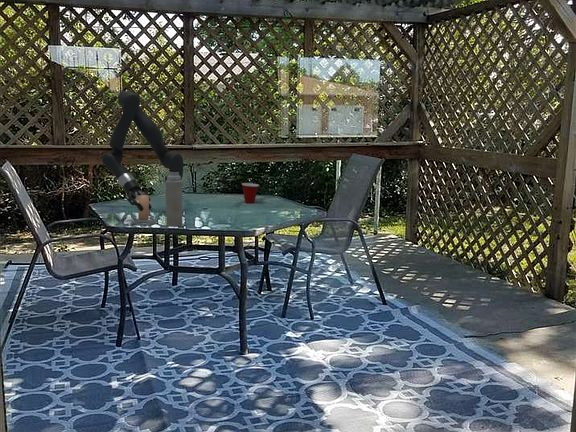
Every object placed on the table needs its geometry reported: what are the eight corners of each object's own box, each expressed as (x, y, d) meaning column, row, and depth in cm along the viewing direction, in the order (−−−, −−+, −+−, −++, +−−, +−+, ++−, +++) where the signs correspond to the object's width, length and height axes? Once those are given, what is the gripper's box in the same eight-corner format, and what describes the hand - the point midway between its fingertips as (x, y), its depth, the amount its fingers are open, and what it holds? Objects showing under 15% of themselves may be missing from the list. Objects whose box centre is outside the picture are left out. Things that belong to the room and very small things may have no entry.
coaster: (154, 220, 321) (154, 219, 321) (157, 224, 310) (157, 223, 310) (130, 221, 317) (130, 220, 317) (132, 225, 306) (132, 224, 306)
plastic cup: (258, 204, 379) (258, 185, 377) (240, 204, 379) (240, 184, 377) (259, 201, 390) (259, 182, 388) (242, 201, 390) (242, 182, 388)
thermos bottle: (167, 223, 314) (167, 168, 309) (183, 223, 314) (183, 168, 309) (165, 226, 306) (164, 170, 301) (181, 226, 306) (180, 170, 301)
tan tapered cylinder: (148, 218, 317) (148, 194, 315) (149, 219, 312) (149, 196, 310) (138, 218, 315) (137, 195, 313) (139, 220, 310) (138, 196, 308)
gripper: (135, 187, 323) (152, 212, 319) (114, 189, 311) (132, 216, 307) (142, 177, 320) (160, 203, 316) (121, 180, 308) (139, 206, 304)
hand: (146, 209), depth 311 cm, fingers closed on tan tapered cylinder, 5 cm apart
